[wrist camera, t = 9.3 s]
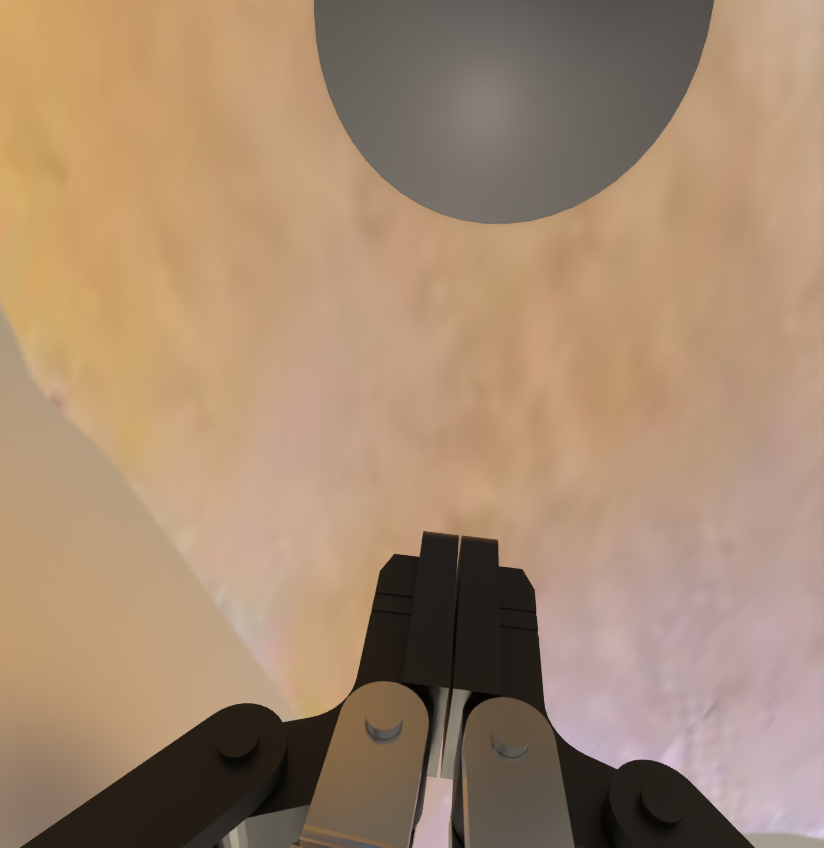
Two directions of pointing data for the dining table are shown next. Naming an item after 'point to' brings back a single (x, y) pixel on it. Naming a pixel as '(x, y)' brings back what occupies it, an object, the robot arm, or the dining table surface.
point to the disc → (507, 94)
